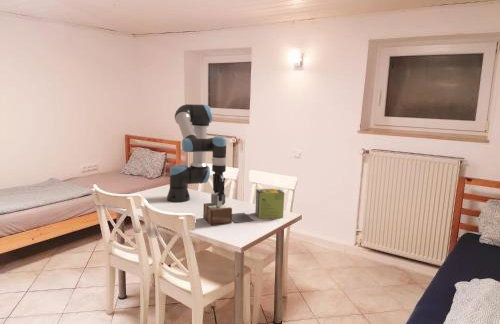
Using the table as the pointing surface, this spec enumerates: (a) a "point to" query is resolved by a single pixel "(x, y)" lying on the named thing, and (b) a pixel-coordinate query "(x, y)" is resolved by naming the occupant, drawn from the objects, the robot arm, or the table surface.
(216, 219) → the walnut box
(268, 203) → the protein box
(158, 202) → the table surface
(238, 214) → the rubber mat
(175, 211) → the table surface
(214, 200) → the grey angular piece
